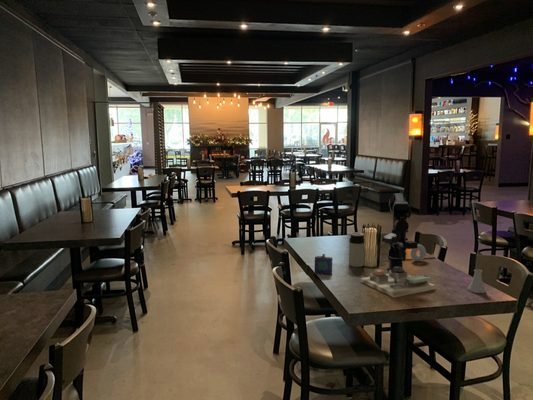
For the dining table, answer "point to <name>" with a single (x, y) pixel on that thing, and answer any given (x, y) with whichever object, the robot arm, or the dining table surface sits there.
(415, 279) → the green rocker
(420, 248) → the donut
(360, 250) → the travel mug
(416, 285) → the control panel
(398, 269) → the black button
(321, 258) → the flask
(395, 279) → the toggle lever
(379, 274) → the terracotta button
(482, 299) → the dining table surface
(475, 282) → the flask
